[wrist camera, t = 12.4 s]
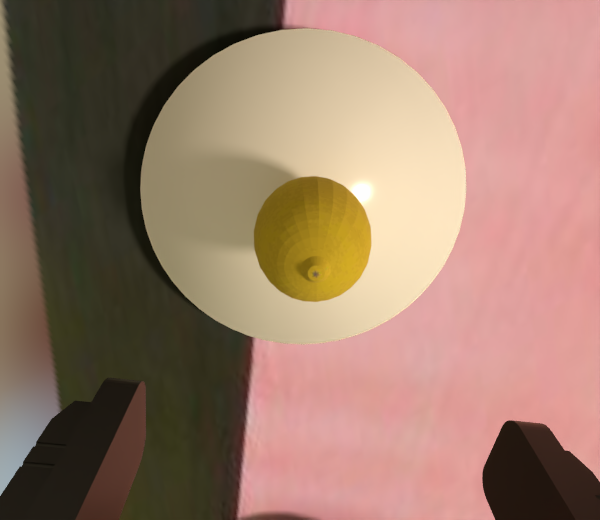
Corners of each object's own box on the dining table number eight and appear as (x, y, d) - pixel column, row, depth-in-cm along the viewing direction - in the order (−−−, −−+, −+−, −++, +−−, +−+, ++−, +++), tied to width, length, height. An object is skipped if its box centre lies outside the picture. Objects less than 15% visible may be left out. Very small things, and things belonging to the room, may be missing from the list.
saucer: (146, 2, 21) (138, -1, 20) (501, 59, 23) (512, 59, 22) (147, 317, 29) (141, 328, 28) (415, 347, 30) (419, 357, 29)
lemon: (245, 179, 24) (224, 232, 16) (344, 147, 23) (367, 187, 16) (278, 267, 26) (272, 347, 19) (369, 240, 25) (400, 313, 18)
